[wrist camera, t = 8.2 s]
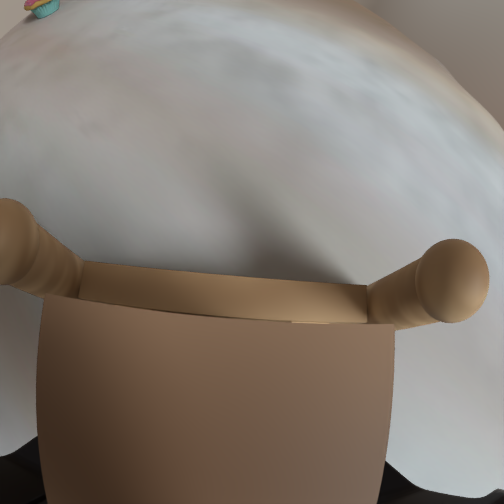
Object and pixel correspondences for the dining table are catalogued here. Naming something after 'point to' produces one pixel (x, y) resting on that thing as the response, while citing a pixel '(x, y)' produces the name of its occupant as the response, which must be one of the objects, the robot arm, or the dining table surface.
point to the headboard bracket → (246, 284)
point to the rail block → (209, 408)
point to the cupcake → (42, 7)
